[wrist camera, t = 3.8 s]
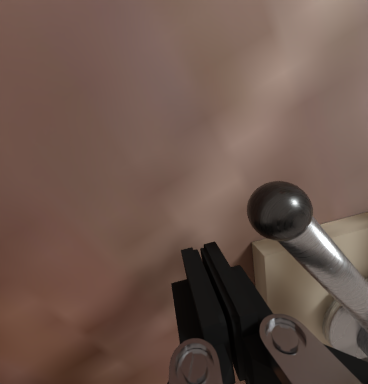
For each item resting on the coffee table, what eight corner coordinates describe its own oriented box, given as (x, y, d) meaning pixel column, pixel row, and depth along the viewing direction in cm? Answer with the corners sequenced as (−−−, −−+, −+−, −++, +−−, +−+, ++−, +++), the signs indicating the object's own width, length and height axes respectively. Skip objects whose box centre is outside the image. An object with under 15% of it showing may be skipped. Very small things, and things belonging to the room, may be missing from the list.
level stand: (436, 193, 14) (477, 202, 13) (397, 364, 20) (422, 387, 18) (251, 242, 13) (268, 260, 11) (266, 411, 18) (278, 441, 17)
